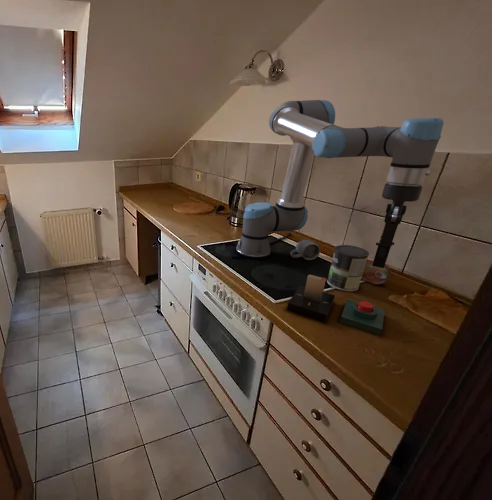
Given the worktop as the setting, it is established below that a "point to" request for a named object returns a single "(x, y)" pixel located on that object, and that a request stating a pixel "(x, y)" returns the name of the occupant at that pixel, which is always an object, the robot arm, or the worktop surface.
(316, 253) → the ceramic mug
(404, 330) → the worktop surface
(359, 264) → the coffee can
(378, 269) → the tin
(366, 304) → the button
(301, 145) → the robot arm
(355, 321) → the block
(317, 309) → the black rectangular base
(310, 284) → the tan upright slab
